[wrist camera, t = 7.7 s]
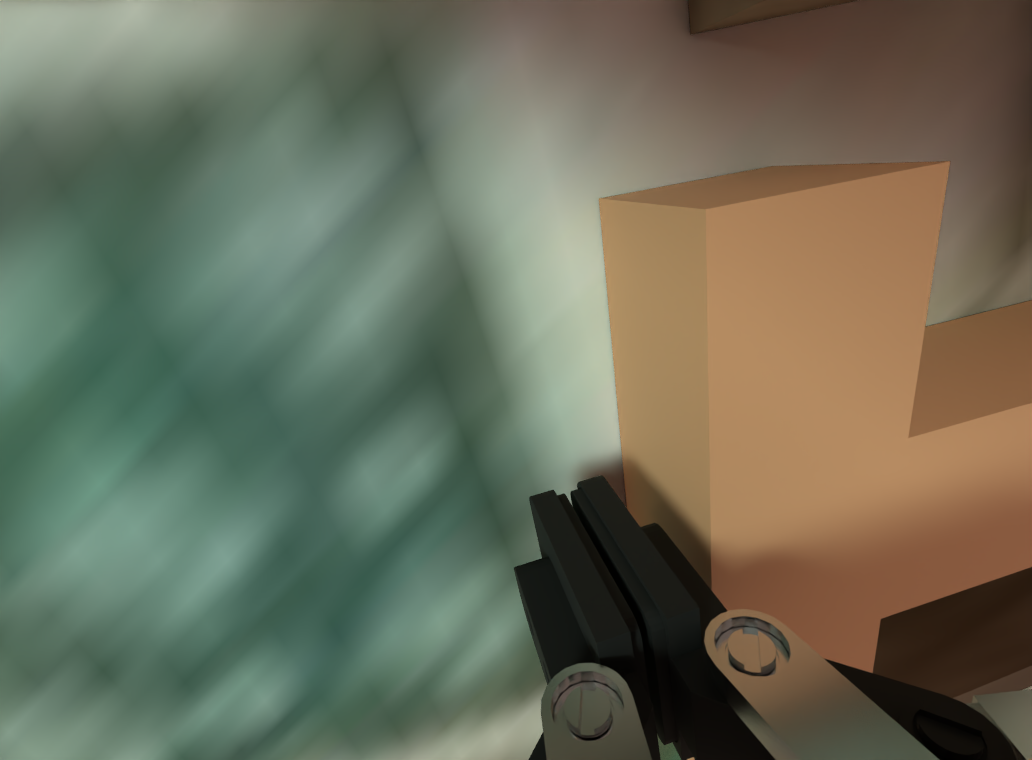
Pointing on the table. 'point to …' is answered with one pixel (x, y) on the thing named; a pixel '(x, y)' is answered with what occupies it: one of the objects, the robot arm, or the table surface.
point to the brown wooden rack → (955, 618)
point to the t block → (816, 396)
